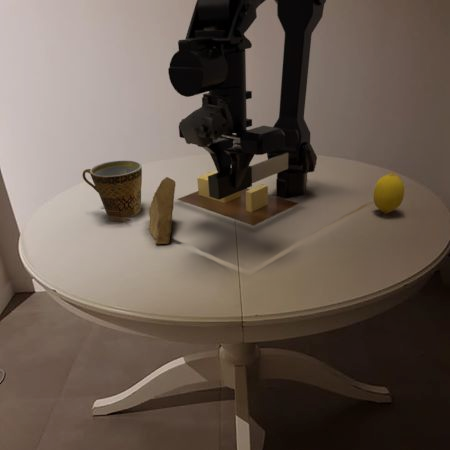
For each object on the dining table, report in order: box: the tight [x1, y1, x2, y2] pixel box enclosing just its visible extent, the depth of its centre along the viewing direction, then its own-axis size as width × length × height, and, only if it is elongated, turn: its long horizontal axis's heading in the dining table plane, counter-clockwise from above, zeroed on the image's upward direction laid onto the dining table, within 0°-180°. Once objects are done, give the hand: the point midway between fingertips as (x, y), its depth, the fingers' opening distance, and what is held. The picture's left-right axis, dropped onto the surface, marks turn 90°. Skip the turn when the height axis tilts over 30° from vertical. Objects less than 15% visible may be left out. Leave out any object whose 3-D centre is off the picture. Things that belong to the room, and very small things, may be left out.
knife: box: [208, 153, 288, 200], centre depth 82 cm, size 19×2×4 cm, turn 135°
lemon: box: [372, 172, 405, 215], centre depth 89 cm, size 6×6×8 cm
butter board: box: [176, 188, 299, 227], centre depth 98 cm, size 14×22×1 cm, turn 46°
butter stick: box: [196, 171, 241, 203], centre depth 100 cm, size 5×8×4 cm, turn 46°
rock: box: [147, 176, 176, 245], centre depth 87 cm, size 11×9×10 cm
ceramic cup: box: [82, 160, 143, 223], centre depth 94 cm, size 13×10×10 cm
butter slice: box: [246, 184, 269, 212], centre depth 93 cm, size 5×2×4 cm, turn 136°
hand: (230, 185), depth 79 cm, fingers closed on knife, 2 cm apart
